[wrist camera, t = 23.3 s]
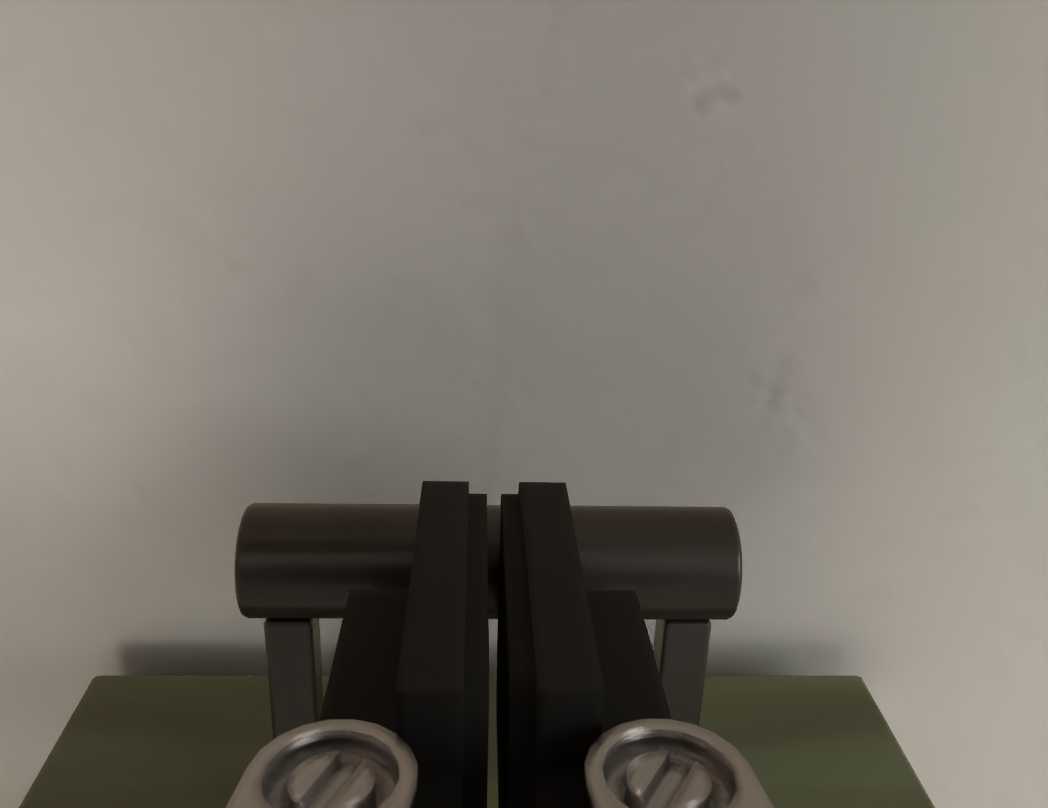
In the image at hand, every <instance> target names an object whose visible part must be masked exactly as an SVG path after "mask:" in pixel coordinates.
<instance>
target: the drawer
mask: <svg viewBox="0 0 1048 808" xmlns="http://www.w3.org/2000/svg"><path fill="white" fill-rule="evenodd" d="M419 506H420V504H323V503H253V504H251V505H249V506H248V507H247V508H246V510H245V512H244V514H243V517H242V519H241V523H240V526H239V531H238V536H237V543H236V552H235V589H236V596H237V601H238V605H239V608H240V611H241V613H242V615H243V616H245V617H248V618H266V619H265V622H264V631H265V644H266V656H267V669H268V676H96V677H94V678H93V680H92V681H91V683H90V685H89V687H88V688H87V690H86V692H85V694H84V695H83V697H82V699H81V701H80V702H79V704H78V706H77V708H76V709H75V711H74V713H73V714H72V716H71V718H70V720H69V721H68V723H67V725H66V727H65V728H64V730H63V732H62V734H61V735H60V737H59V739H58V741H57V742H56V744H55V746H54V748H53V749H52V751H51V753H50V755H49V756H48V758H47V760H46V761H45V763H44V765H43V767H42V768H41V770H40V772H39V774H38V775H37V777H36V779H35V781H34V782H33V784H32V786H31V788H30V789H29V791H28V793H27V795H26V796H25V798H24V800H23V802H22V803H21V805H20V807H19V808H226V806H227V804H228V802H229V800H230V798H231V796H232V794H233V793H234V791H235V789H236V787H237V785H238V783H239V781H240V780H241V778H242V776H243V774H244V772H245V770H246V768H247V767H248V765H249V764H250V763H251V761H252V760H253V759H254V757H255V756H256V755H257V754H258V752H259V751H260V750H261V749H262V748H263V747H264V746H266V745H267V744H269V743H270V742H271V741H273V740H274V739H275V738H277V737H278V736H279V735H281V734H283V733H286V732H288V731H290V730H293V729H295V728H297V727H300V726H302V725H305V724H310V723H315V722H319V719H320V715H321V711H322V706H323V702H324V698H325V694H326V689H327V685H328V681H329V677H330V676H322V663H321V645H320V626H319V618H343V617H344V612H345V608H346V604H347V600H348V596H349V593H350V590H352V589H409V584H410V576H411V568H412V560H413V552H414V545H415V537H416V529H417V521H418V514H419ZM570 509H571V514H572V519H573V525H574V530H575V535H576V541H577V546H578V551H579V556H580V562H581V567H582V572H583V578H584V583H585V588H586V590H633V591H635V592H636V594H637V597H638V599H639V603H640V606H641V610H642V614H643V617H644V619H656V629H655V640H654V650H653V653H654V657H655V660H656V664H657V667H658V671H659V674H660V678H661V682H662V685H663V689H664V692H665V696H666V700H667V703H668V707H669V710H670V714H671V718H672V720H676V721H681V722H686V723H691V724H694V725H697V726H699V727H702V728H704V729H706V730H709V731H711V732H713V733H716V734H717V735H719V736H720V737H722V738H723V739H724V740H726V741H727V742H729V743H730V744H731V745H733V746H734V747H735V748H736V749H737V750H738V751H739V752H740V754H741V755H742V756H743V757H744V759H745V760H746V761H747V762H748V763H749V765H750V767H751V768H752V770H753V772H754V773H755V775H756V777H757V779H758V780H759V782H760V784H761V785H762V787H763V789H764V791H765V792H766V794H767V796H768V797H769V799H770V801H771V803H772V804H773V806H774V808H935V807H934V806H933V804H932V802H931V800H930V799H929V797H928V795H927V793H926V791H925V790H924V788H923V786H922V784H921V783H920V781H919V779H918V777H917V776H916V774H915V772H914V770H913V768H912V767H911V765H910V763H909V761H908V760H907V758H906V756H905V754H904V753H903V751H902V749H901V747H900V745H899V744H898V742H897V740H896V738H895V737H894V735H893V733H892V731H891V729H890V728H889V726H888V724H887V722H886V721H885V719H884V717H883V715H882V714H881V712H880V710H879V708H878V706H877V705H876V703H875V701H874V699H873V698H872V696H871V694H870V692H869V691H868V689H867V687H866V685H865V683H864V682H863V680H862V678H861V677H859V676H705V672H706V664H707V656H708V647H709V639H710V631H711V623H710V620H709V619H728V618H731V617H732V616H733V615H734V614H735V612H736V609H737V606H738V603H739V598H740V593H741V585H742V551H741V542H740V536H739V531H738V527H737V524H736V521H735V518H734V516H733V514H732V512H731V511H730V510H729V509H727V508H725V507H672V506H570ZM500 516H501V505H487V554H488V619H498V599H499V557H500ZM496 682H497V676H489V736H488V784H487V808H498V770H497V727H496Z"/></svg>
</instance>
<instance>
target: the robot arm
mask: <svg viewBox="0 0 1048 808" xmlns="http://www.w3.org/2000/svg"><path fill="white" fill-rule="evenodd" d="M496 727H497V770H498V808H774V806H773V804H772V803H771V801H770V799H769V797H768V796H767V794H766V792H765V791H764V789H763V787H762V785H761V784H760V782H759V780H758V779H757V777H756V775H755V773H754V772H753V770H752V768H751V767H750V765H749V763H748V762H747V761H746V760H745V759H744V757H743V756H742V755H741V754H740V752H739V751H738V750H737V749H736V748H735V747H734V746H733V745H731V744H730V743H729V742H727V741H726V740H724V739H723V738H722V737H720V736H719V735H717V734H716V733H713V732H711V731H709V730H706V729H704V728H702V727H699V726H697V725H694V724H691V723H686V722H681V721H676V720H672V718H671V714H670V710H669V707H668V703H667V700H666V696H665V692H664V689H663V685H662V682H661V678H660V674H659V671H658V667H657V664H656V660H655V657H654V653H653V649H652V646H651V642H650V639H649V635H648V631H647V628H646V624H645V621H644V617H643V614H642V610H641V606H640V603H639V599H638V597H637V594H636V592H635V591H633V590H586V588H585V583H584V578H583V572H582V567H581V562H580V556H579V551H578V546H577V541H576V535H575V530H574V525H573V519H572V514H571V509H570V504H569V498H568V493H567V488H566V484H565V483H549V482H520V483H519V492H518V494H501V516H500V557H499V599H498V640H497V682H496ZM488 736H489V628H488V554H487V494H469V482H446V481H423V483H422V490H421V498H420V506H419V514H418V521H417V529H416V537H415V545H414V552H413V560H412V568H411V576H410V584H409V589H352V590H350V593H349V596H348V600H347V604H346V608H345V612H344V617H343V621H342V625H341V630H340V634H339V638H338V642H337V647H336V651H335V655H334V659H333V664H332V668H331V672H330V677H329V681H328V685H327V689H326V694H325V698H324V702H323V706H322V711H321V715H320V719H319V722H315V723H310V724H305V725H302V726H300V727H297V728H295V729H293V730H290V731H288V732H286V733H283V734H281V735H279V736H278V737H277V738H275V739H274V740H273V741H271V742H270V743H269V744H267V745H266V746H264V747H263V748H262V749H261V750H260V751H259V752H258V754H257V755H256V756H255V757H254V759H253V760H252V761H251V763H250V764H249V765H248V767H247V768H246V770H245V772H244V774H243V776H242V778H241V780H240V781H239V783H238V785H237V787H236V789H235V791H234V793H233V794H232V796H231V798H230V800H229V802H228V804H227V806H226V808H487V784H488Z"/></svg>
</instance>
